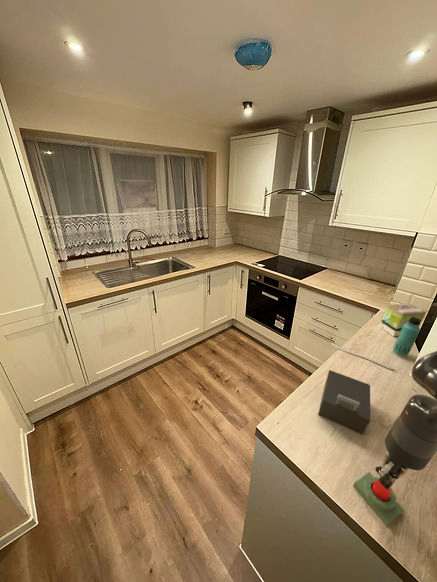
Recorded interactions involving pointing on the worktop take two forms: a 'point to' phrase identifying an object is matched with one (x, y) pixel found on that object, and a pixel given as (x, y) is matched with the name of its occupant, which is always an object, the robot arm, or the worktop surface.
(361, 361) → the worktop surface
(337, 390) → the sandwich lid
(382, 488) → the button
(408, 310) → the tea box
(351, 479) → the worktop surface
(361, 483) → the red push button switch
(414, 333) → the beverage bottle
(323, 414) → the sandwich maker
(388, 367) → the butter knife
